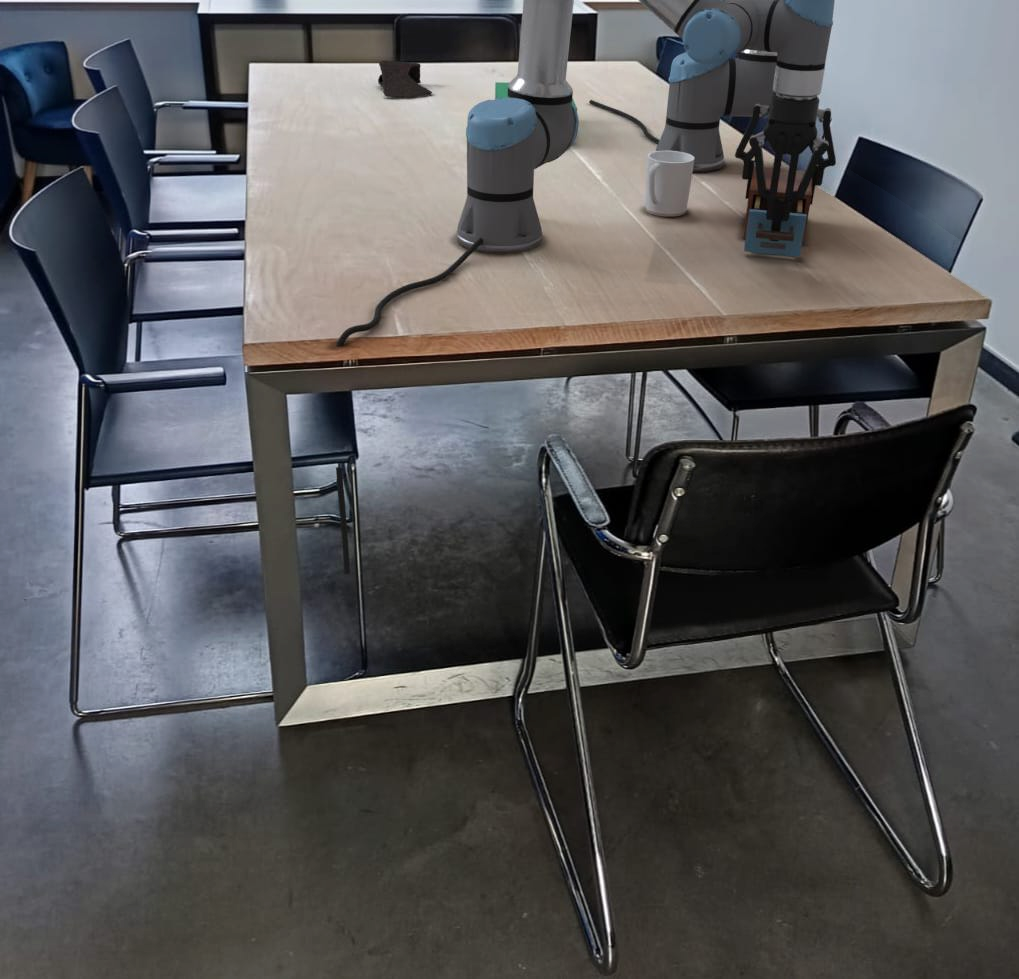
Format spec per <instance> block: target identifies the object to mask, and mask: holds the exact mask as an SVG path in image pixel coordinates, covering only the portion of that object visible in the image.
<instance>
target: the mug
mask: <svg viewBox="0 0 1019 979" xmlns="http://www.w3.org/2000/svg"><path fill="white" fill-rule="evenodd" d="M693 165H694V156H692V155H690V154H688V153H684V152H678V151H655V150H654V151H651V152H649V153H648V154H646V171H645V172H646V173H645V194H644V196H645V198H644V200H645V201H644V210H645V212H647V213H648V214H651V215H654V216H659V217H668V218H669V217H671V218H672V217H679V216H683V215H684V214H686V213H687V210H688V204H689V196H690V191H691V185H692V184H691V183H692V179H693V173H694V172H693Z"/></svg>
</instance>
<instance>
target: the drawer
mask: <svg viewBox="0 0 1019 979" xmlns="http://www.w3.org/2000/svg"><path fill="white" fill-rule="evenodd" d="M776 198H780V199H785V197H776ZM767 206H768V200H767V199H766V198H764V197H760V196H759V195H757V196H756V202H755V207H754V209H750V210H749V217H748V225H747V232H746V239H744V246H743V252H744V253H745V252H747V253H755V254H756V253H757V254H767V255H777V256H786V257H796V258H800V257H801V251H802V247H803V245H802V240H803V234H804V228H805V222H806V216H807V215H806V214H802V206H803V199H802V200H796V201H793V202H792V204H791V209H790V215H789V219H788V221H781V228H780V232H779V231H771V226H772V220H767V219H766V213H767ZM770 239H771V240H779V241H770Z"/></svg>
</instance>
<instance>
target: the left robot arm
mask: <svg viewBox="0 0 1019 979" xmlns="http://www.w3.org/2000/svg"><path fill="white" fill-rule="evenodd" d="M638 2H640V3H641V4H642V6H644V7H645V8H646V9H648V10H649V11H650V12H651V13H652V14H653V15H655V16H656V17H657V18H658V19H659V20H660V21H661V22H662V23H663V24H665V26H666V27H668V28H669V29H670V30H672V32H673V33H675V34H676V35H677V36H678V37H679V38H680V39H681V40H682V45H683V49H684V50H685V53H687V54H688V56H689V57H690V58H691V59H692V60H693V61H695V62H697V63H699V64H702V65H711V64H716V63H721V62H724V61H726V60H728V59H729V58H732V57H733V56H735V55H738V53H740V52H742V51H744V50H756V51H767V52H777V62H776V68H775V75H774V82H773V91H774V92H775V94H773V96H772V97H771V104H770V111H769V117H767V118H768V119H767V122H766V123H765V125H764V127H763V130H762V131H761V132H758V133H756V134H752V135H751V136H750V139H749V142H748V144H749V146H750V149H751V148H752V150H753V152H754V157H753V159H754V160H755V163H754V166H755V167H756V177H757V186H758V195H759V196H760V197H764V198H766V199H767V200H768V206H767V213H766V219H767V220H772V226H771V231H779V232H780V228H781V221H788V219H789V215H790V209H791V204H792V202H793V201H796V200H802V199H803V198H804V195H805V193H806V191H807V188H808V186H809V183H810V181H811V179H812V176H813V174H814V172H815V169H816V167H817V166H818V162H819V160H820V158H821V157H822V156H824V155H825V154H826V153H827V150H828V148H829V143H828V141H827V140H825V139H823V138H822V137H820V136H819V135H818V129H817V119H818V116H817V113H818V109H819V107H820V99H819V96H820V94H821V92H822V88H823V83H824V77H825V76H824V75H825V69H826V63H827V62H826V61H827V57H828V56H827V55H828V51H829V50H828V49H829V46H830V43H829V42H830V40H831V33H832V29H833V25H834V9H835V8H834V7H835V3H836V2H835V0H638ZM574 3H575V0H523V1H522V15H521V26H520V27H521V28H520V37H519V38H520V40H519V51H518V63H517V64H518V65H517V74H516V76H515V77H513V79H511V80H510V81H509V82H508V83H509V84H508V93H507V98H496V99H495V98H494V99H487V100H482V101H481V102H479V103H477V104H475V105H474V106H472V107H471V109H470V111H468V115H467V120H466V121H467V122H466V128H465V137H466V192H467V193H466V198H465V202H464V205H463V209H462V211H461V214H460V218H459V220H458V224H457V228H456V241H457V243H458V244H459V245H461V246H462V247H464V248H466V249H467V250H466V251H465V252H464V253H463V254H462V255H460V257H459V258H457V260H455V262H453V263H452V264H451V265H450V266H449V267H448V268H447V269H446V270H445V271H443V272H442V273H439V274H438V275H435V276H434V277H431V278H427V279H424V280H419V281H415V282H412V283H409V284H405V285H403V286H401V287H399V288H396V289H395V290H393V291H391V292H390V293H388V294H387V295H386V296H385V297H383V298H382V299H381V300H380V301H379V302H378V304H377V305H376V306H375V308H374V309H375V310H374V316H373V318H372V320H371V321H369V322H368V323H363V324H357V325H353V326H351V327H348V328H347V329H345V330H344V331H343V332H342V334H341V335H340V336H339V337H338V340H337V342H336V344H335V347H336V348H341V347H343V346H344V344H345V342H346V341H347V339H348V338H350V336H351V335H354V334H356V333H360V332H361V333H362V332H367V331H371V330H372V329H374V328H375V327H376V326H377V325H378V324H379V322H380V320H381V315H382V311H383V309H384V308H385V307H386V306H387V305H388V303H389V302H391V301H392V300H393V299H395V298H397V297H398V296H400V295H402V294H404V293H407V292H409V291H413V290H416V289H419V288H420V289H421V288H424V287H428V286H431V285H434V284H437V283H439V282H441V281H443V280H444V279H447V278H448V277H449V276H451V274H453V273H454V272H455V271H456V270H457V269H458V268H459V267H460V266H462V264H463V263H464V262H465V261H466V260H467V259H468V258H469V257H470V256H471V255H472V254H473V253H474V252H479V253H486V254H497V255H499V254H500V255H506V254H507V255H508V254H517V253H524V252H527V251H530V250H533V249H536V248H538V247H539V246H540V245H541V244H542V243H543V229H542V224H541V221H540V220H541V219H540V218H539V214H538V213H539V212H538V210H537V206H536V204H535V199H534V184H535V181H534V180H535V170H537V168H540V167H541V166H544V165H545V164H547V163H551V162H554V161H556V160H558V159H559V158H560V157H562V156H563V155H564V154H565V153H566V152H567V151H568V150H569V149H570V148H571V147H572V145H573V144H574V142H575V140H576V138H577V135H578V132H579V124H580V122H579V114H578V110H577V111H576V108H574V106H573V103H572V98H573V94H574V89H573V87H572V86H571V84H569V82H568V80H567V70H568V60H569V52H570V42H571V32H572V21H573V14H574V13H573V12H574ZM765 138H766V139H767V143H768V144H769V147H770V148H771V150H772V151H773V152H774V158H773V165H772V168H773V172H772V179H771V185H770V189H767V188H766V181H765V172H764V167H765V162H764V153H763V147H764V146H765V144H764V139H765ZM812 142H814V145H813V151H814V152H813V154H812V153H811V156H810V159H809V161H808V164H807V166H806V168H805V170H804V171H805V173H804V175H803V178H802V180H801V182H800V185H799V187H798V190H797V191H793V190H794V184H795V177H796V171H797V170H798V163H799V159H800V158H799V157H800V155H801V154H803V153H804V152H805V151H806V149H807V148H809V145H810V144H811V143H812ZM783 155H788V156H790V159H789V166H788V169H789V172H788V178H787V185H786V192H785V199H780V198H776V196H777V189H778V182H779V176H780V169H782V161H783ZM770 241H779V240H771V239H770ZM335 474H336V486H337V487H336V488H337V497H338V499H337V500H338V508H339V520H340V530H341V532H340V533H341V544H342V557H343V558H342V560H343V572H344V575H349V574H350V573H351V565H350V550H349V549H350V548H349V536H348V524H347V512H346V511H347V510H346V501H345V500H346V499H345V487H344V474H343V467H339V466H336V467H335Z"/></svg>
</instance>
